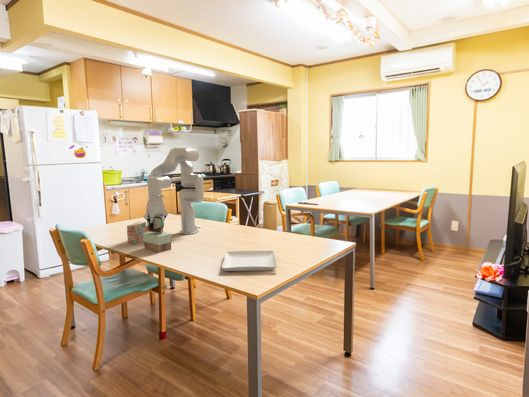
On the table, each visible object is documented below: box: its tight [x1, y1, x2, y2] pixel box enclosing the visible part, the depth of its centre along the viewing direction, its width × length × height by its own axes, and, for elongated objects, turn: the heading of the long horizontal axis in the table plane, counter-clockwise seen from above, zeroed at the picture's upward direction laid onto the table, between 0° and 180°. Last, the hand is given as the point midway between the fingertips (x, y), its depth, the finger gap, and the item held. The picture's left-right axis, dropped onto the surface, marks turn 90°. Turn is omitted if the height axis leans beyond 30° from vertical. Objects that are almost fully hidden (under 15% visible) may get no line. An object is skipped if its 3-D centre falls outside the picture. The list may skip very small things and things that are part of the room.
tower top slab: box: [143, 231, 172, 245], centre depth 203 cm, size 9×15×5 cm, turn 54°
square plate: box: [221, 250, 278, 272], centre depth 175 cm, size 27×27×4 cm
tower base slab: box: [143, 241, 172, 254], centre depth 204 cm, size 9×15×5 cm, turn 49°
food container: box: [146, 215, 166, 233], centre depth 203 cm, size 12×6×10 cm, turn 67°
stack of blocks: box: [126, 221, 148, 245], centre depth 224 cm, size 21×6×12 cm, turn 168°
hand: (156, 227), depth 202 cm, fingers closed on food container, 6 cm apart
